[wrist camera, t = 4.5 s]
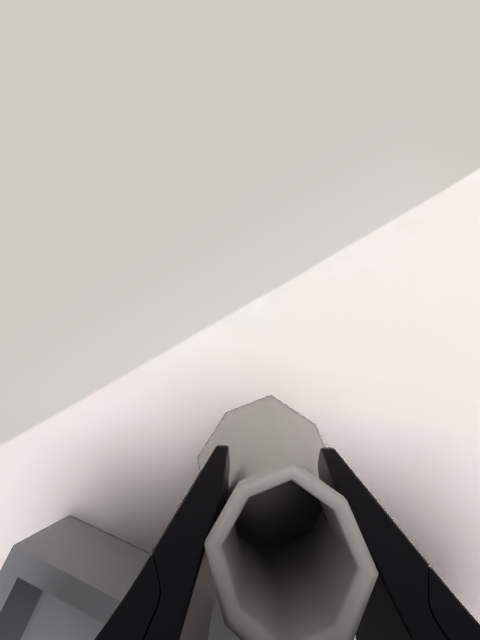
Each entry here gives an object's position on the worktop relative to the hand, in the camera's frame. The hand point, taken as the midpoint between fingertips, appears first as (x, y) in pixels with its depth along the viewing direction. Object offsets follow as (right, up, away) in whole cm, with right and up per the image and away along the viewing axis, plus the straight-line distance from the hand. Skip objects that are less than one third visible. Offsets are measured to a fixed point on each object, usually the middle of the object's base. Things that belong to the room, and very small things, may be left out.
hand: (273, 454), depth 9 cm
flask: (0, -4, +6) cm, 7 cm away
